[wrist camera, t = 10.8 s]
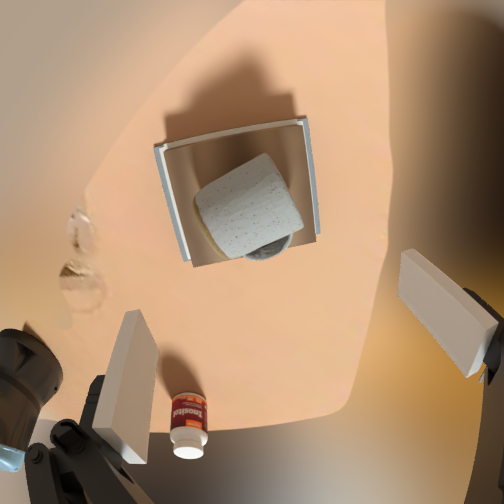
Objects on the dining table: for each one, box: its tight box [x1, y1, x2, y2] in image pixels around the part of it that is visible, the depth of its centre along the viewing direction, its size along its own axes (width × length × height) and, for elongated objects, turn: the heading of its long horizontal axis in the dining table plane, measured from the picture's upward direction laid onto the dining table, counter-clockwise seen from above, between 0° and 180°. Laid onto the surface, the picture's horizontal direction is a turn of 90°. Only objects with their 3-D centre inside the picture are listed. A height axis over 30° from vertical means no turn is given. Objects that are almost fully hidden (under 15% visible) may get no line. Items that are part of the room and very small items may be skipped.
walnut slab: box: [163, 124, 316, 267], centre depth 32 cm, size 14×13×3 cm
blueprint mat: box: [154, 118, 320, 262], centre depth 33 cm, size 17×14×1 cm
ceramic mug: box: [192, 153, 304, 261], centre depth 28 cm, size 11×8×8 cm
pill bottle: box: [170, 392, 208, 459], centre depth 43 cm, size 6×6×11 cm
